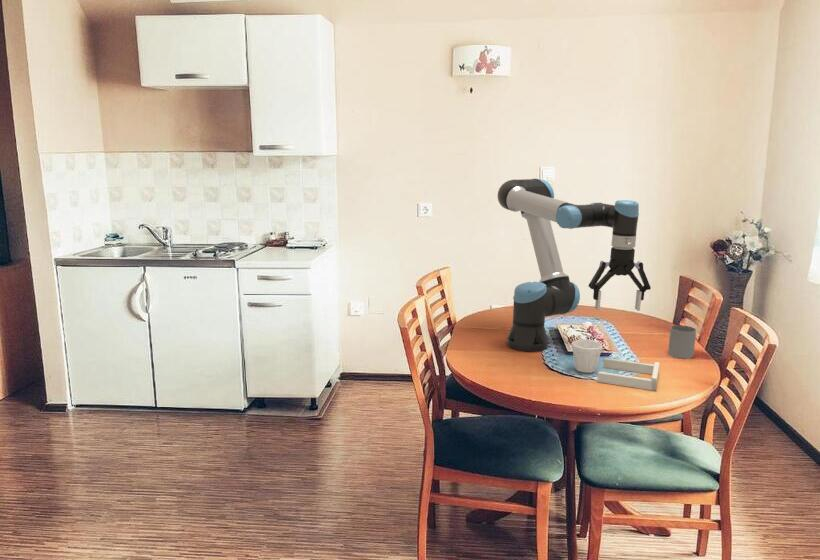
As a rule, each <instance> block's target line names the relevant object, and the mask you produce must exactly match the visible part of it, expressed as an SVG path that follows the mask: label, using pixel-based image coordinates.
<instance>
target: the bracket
mask: <svg viewBox="0 0 820 560" xmlns="http://www.w3.org/2000/svg"><path fill="white" fill-rule="evenodd" d="M603 358H604V359H603V366H602V367H603V369H604V368H605V369H610V370H612V369H613V370H618V371H625V372H631V373H638V374H639V373H640V374H646V375H651V378H646V377H640V376H639V377H638V376H631V375H624V374H618V373H611V372H604V371H598V373H597V383H603V384H610V385H616V386H622V387H628V388H629V387H630V388H636V389H643V390H648V391H657V385H658V378H659V374H660V362H658V361H654V364H653V363H646V362H638V361H631V360H623V359H618V358H617V359H615V358H610V357H609V358H608V357H603Z"/></svg>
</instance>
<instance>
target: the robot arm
mask: <svg viewBox="0 0 820 560" xmlns="http://www.w3.org/2000/svg"><path fill="white" fill-rule="evenodd" d="M497 201H498V203H499V205H500V206H501V207H502V208H504V209H505V210H508V211H510V212H511V211H512V212H515V213H516V212H517V213H518V212H520V214H521V217H522V218H523V219H525V220H526V222H527V225H528V229H529V235H530V238H531V242H532V246H533V250H534V253H535V258H536V262H537V266H538V269H539V274H540V280H539V281H528V282H523V283H520V284H518V285H516V287H515V288H514V293H513V298H512V299H513V307H512V308H513V309H512V310H513V311H512V325H511V328H510V330H509V334H508V335H507V338H506V339H507V341H506V344H507V346H508V347H509V348H511V349H514V350H516V351H520V352H521V351H522V352H541V351H545V350H547V349H548V347H549V339H548V335H547V332H546V328H545V319H546V317H551V316H559V315H565V314H568V313H571V312H574V311H575V310H576V309H577V308H578V305H579V303H580V300H581V294H580V293H581V292H580V289H579V287H578V285H577V284H575V282H572V281H570V276H569V275H568V274H566V273H565V271H564V269H563V266H562V261H561V257H560V253H559V251H558V246H557V243H556V238H555V234H554V230H553V226H552V223H551V222H554V223H557V225H558V226H559V228H561V229H569V230H571V229H580V228H592V227H593V228H594V227H607V228H611V229H612V234H611V235H612V237H611V246H612V247H611V248H610V254H609V255H610V257H609V258H610V260H609V262H608V261H603V260H601V261H600V263H599V267H598V269H597V270H596V272H595V274H594V275H593V276H592V279H591V280H590V282H589V284H588V288H589V289H591V290H593V296H592V298H593V300H595V304H594V306H595V307H594V309H595V310H597V311H600V310H601V297H602V290H601V289H603V286H604V285H606V283H608V282H609V280H610V279H611V278H612V277H615V276H627V275H628V276H629V278H630V279H631V280H632V282H633V283H634V284H635V285H636V287H637V288H638V289H636V292H635V293H636V294H635V302H634V303H635V305H634V309H635V310H636V311H641V303H642V301H644V299H645V298H644V297H645V292H646V291H647V290H649V291H650V290H651V285H650V282H649V280H648V277H647V274H646V273H645V270H644V263H643V262H642V261H639V260H638V261H636V262H635V251H636V250H635V247H636V241H637V240H636V239H637V232H638V231H637V229H638V221H639V215H640V214H639V208H640V207H639V206H640V205H639V202H638V201H636V200H627V199H622V200H621V199H619V200H616V201H615V203H614V204H608V203H603V202H592V203H589V204H573V203H569V202H568V201H564V200H560V199H556V198H555V192H554V189H553V187H552V184H550V183H549V181H547V180H545V179H542V178H529V179H528V178H527V179H525V178H524V179H511V180H507V181H504V183H502V185H500V187H499V189H498V191H497ZM607 268H609V269H608V271H607V272H606V273H605V269H607ZM634 268H635V269H637V271H638V274H639V277H640V279H641V281H642V282H640V280H639V279H638V278H637V276H636V275H635V273H634V272H633V271H632V270H633V269H634ZM604 273H605V275H604V276H602V275H603V274H604ZM600 278H601V279H600ZM642 283H643V284H642Z"/></svg>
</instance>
